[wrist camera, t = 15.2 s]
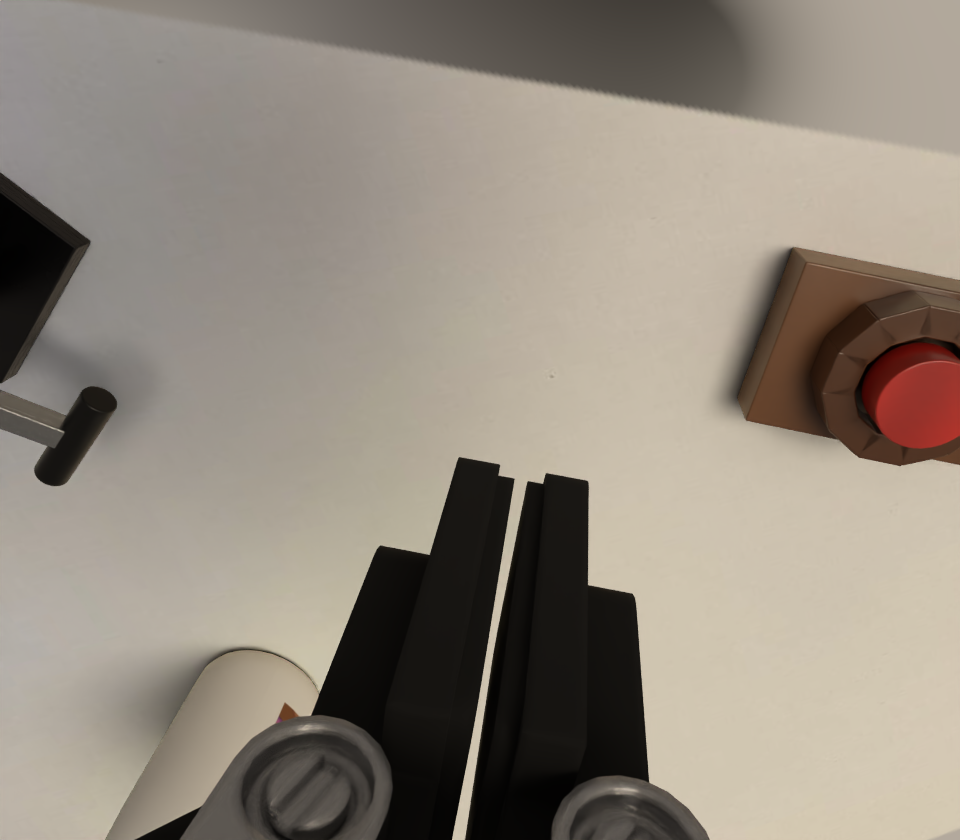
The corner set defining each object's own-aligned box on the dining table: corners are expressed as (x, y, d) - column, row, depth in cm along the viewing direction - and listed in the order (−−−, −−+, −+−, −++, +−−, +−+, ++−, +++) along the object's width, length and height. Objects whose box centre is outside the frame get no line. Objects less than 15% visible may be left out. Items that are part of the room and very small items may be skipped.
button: (980, 352, 29) (1002, 371, 27) (936, 436, 30) (955, 458, 29) (883, 333, 29) (900, 351, 27) (846, 416, 30) (859, 438, 29)
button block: (1040, 296, 31) (1098, 332, 27) (959, 444, 34) (1001, 493, 31) (792, 246, 31) (818, 275, 28) (736, 398, 35) (753, 441, 31)
